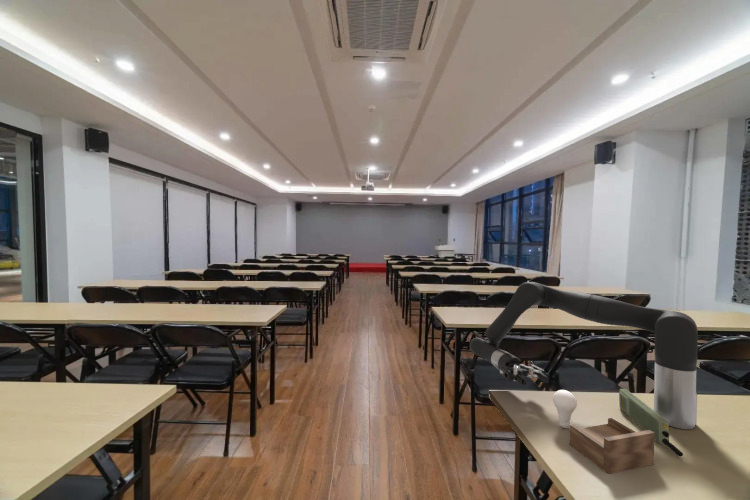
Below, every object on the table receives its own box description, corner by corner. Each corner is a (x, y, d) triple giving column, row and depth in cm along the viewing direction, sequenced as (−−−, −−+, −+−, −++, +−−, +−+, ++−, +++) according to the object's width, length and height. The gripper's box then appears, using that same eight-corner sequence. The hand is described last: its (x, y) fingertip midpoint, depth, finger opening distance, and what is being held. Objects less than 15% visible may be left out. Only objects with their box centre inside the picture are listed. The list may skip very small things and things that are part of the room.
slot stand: (611, 437, 90) (611, 409, 90) (653, 464, 79) (654, 432, 79) (569, 444, 87) (569, 415, 86) (608, 473, 76) (608, 440, 76)
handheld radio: (629, 408, 105) (688, 460, 80) (617, 408, 106) (673, 459, 81) (628, 388, 105) (688, 434, 80) (617, 388, 105) (673, 433, 81)
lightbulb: (548, 426, 95) (549, 390, 95) (557, 419, 99) (558, 384, 99) (571, 436, 90) (571, 398, 90) (579, 428, 94) (580, 391, 94)
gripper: (489, 354, 119) (518, 372, 104) (522, 351, 123) (555, 368, 107) (489, 374, 120) (517, 394, 104) (522, 370, 123) (554, 390, 107)
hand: (536, 381), depth 105 cm, fingers open, 8 cm apart
